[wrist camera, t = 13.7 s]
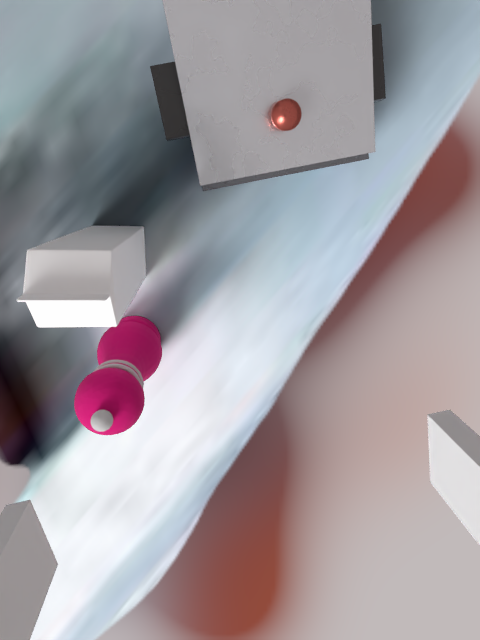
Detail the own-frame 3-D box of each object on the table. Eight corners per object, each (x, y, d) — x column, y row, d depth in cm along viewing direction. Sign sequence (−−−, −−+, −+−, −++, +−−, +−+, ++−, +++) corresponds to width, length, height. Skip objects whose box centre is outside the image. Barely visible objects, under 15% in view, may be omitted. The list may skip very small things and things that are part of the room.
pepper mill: (162, 310, 51) (141, 383, 32) (166, 363, 54) (149, 461, 35) (102, 312, 51) (45, 388, 32) (109, 366, 53) (60, 467, 34)
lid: (157, -25, 32) (154, -39, 29) (364, -62, 32) (379, -78, 30) (200, 184, 38) (200, 188, 36) (371, 151, 39) (384, 152, 36)
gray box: (146, 32, 42) (133, -7, 34) (344, -4, 43) (381, -50, 34) (182, 193, 47) (178, 195, 39) (358, 159, 48) (393, 154, 39)
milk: (146, 276, 50) (110, 343, 29) (95, 276, 49) (20, 345, 29) (144, 224, 48) (103, 257, 27) (90, 224, 47) (6, 257, 27)
